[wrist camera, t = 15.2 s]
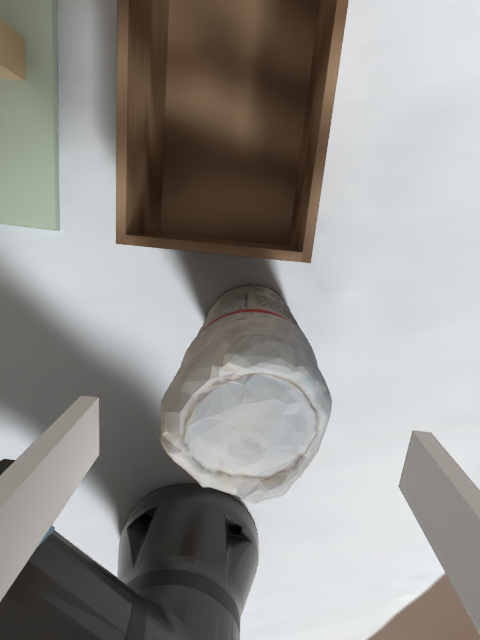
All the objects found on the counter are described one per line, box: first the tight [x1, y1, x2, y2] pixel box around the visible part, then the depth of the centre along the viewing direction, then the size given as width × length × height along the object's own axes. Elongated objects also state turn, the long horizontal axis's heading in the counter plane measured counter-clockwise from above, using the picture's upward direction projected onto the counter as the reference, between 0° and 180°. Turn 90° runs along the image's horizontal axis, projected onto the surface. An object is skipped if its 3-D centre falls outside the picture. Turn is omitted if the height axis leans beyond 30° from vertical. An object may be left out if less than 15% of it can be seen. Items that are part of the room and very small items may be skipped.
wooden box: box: [116, 0, 348, 263], centre depth 24 cm, size 26×12×10 cm, turn 175°
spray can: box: [159, 284, 332, 503], centre depth 25 cm, size 8×8×20 cm
